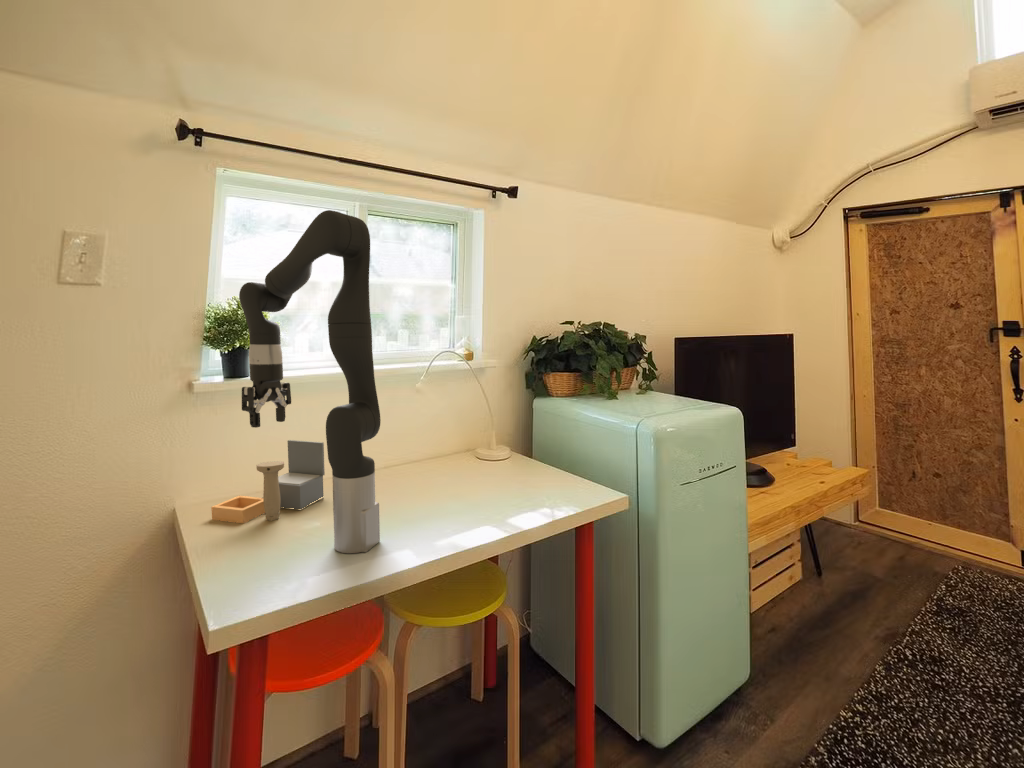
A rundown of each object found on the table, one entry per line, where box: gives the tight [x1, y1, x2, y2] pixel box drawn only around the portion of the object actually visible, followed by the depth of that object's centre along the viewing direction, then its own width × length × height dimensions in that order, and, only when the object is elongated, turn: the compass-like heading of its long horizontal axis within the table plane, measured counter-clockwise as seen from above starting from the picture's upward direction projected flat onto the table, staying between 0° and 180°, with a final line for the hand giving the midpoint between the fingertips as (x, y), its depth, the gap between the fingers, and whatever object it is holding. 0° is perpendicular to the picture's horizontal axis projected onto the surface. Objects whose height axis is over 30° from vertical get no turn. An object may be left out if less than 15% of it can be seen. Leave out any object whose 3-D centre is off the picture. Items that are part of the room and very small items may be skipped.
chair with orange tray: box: [210, 439, 325, 524], centre depth 126 cm, size 18×22×17 cm
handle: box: [256, 460, 285, 522], centre depth 119 cm, size 5×6×15 cm
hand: (268, 424), depth 117 cm, fingers open, 8 cm apart
